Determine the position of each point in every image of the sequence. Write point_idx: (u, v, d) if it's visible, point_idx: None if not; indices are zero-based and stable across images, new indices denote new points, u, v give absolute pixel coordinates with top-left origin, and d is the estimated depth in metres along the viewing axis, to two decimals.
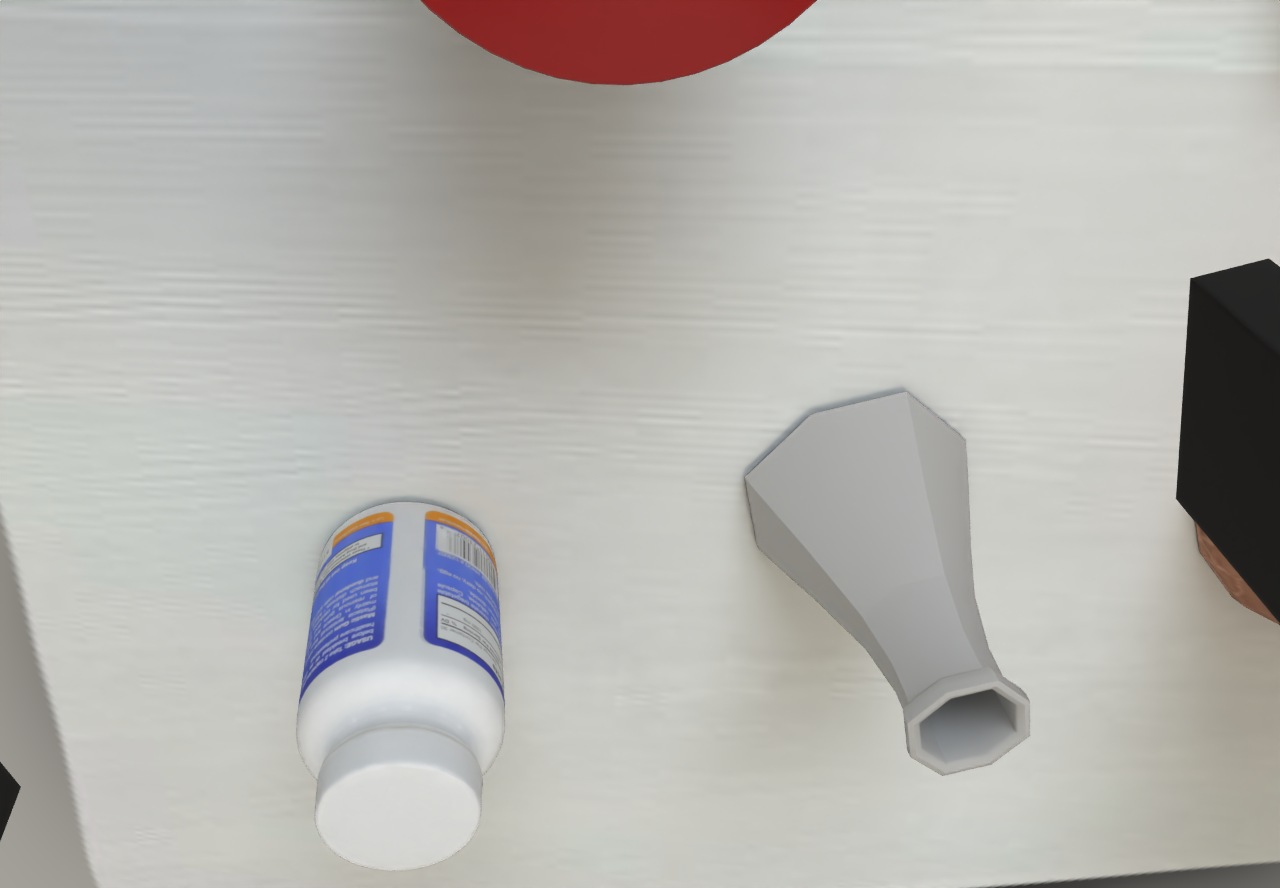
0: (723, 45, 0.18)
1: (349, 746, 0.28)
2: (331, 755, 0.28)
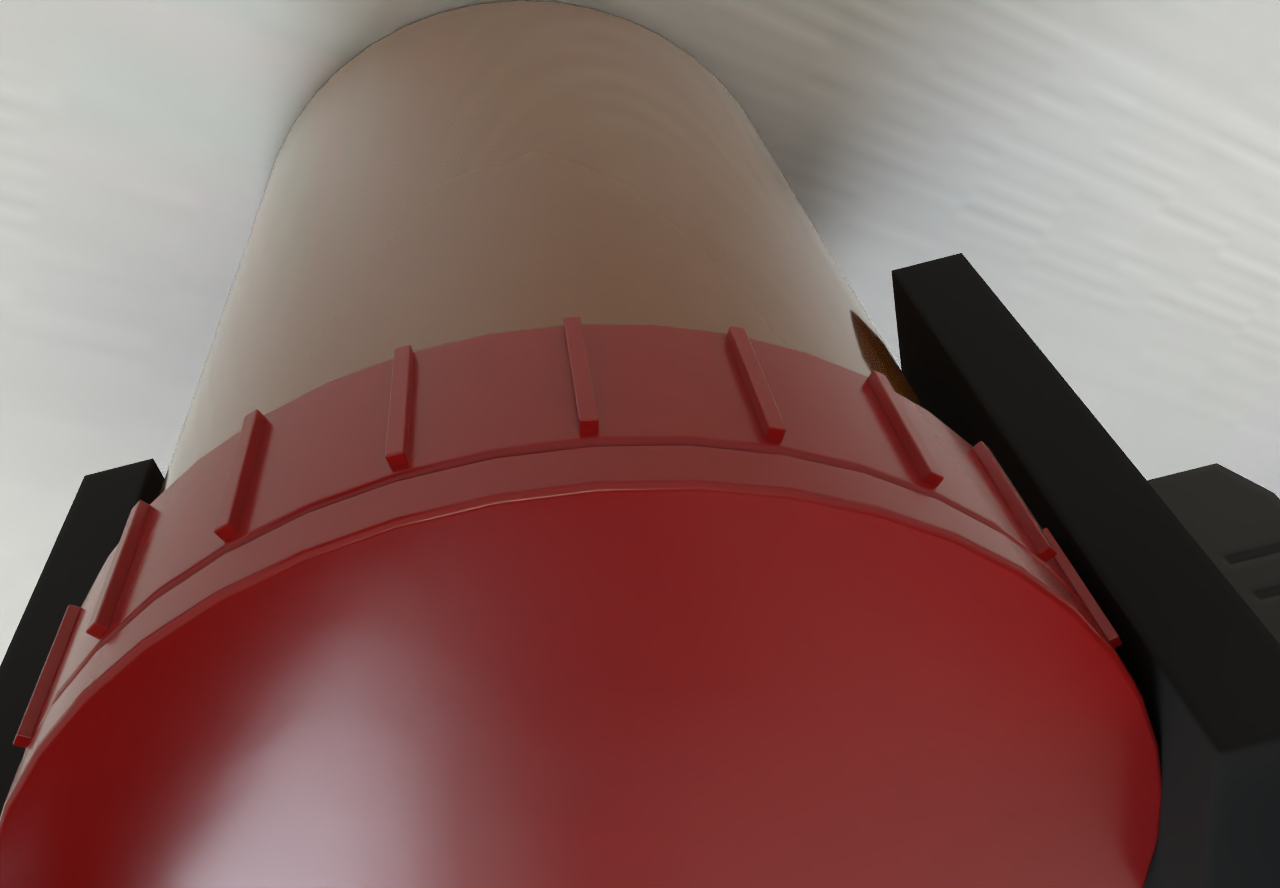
0: (595, 526, 0.06)
1: None
2: None
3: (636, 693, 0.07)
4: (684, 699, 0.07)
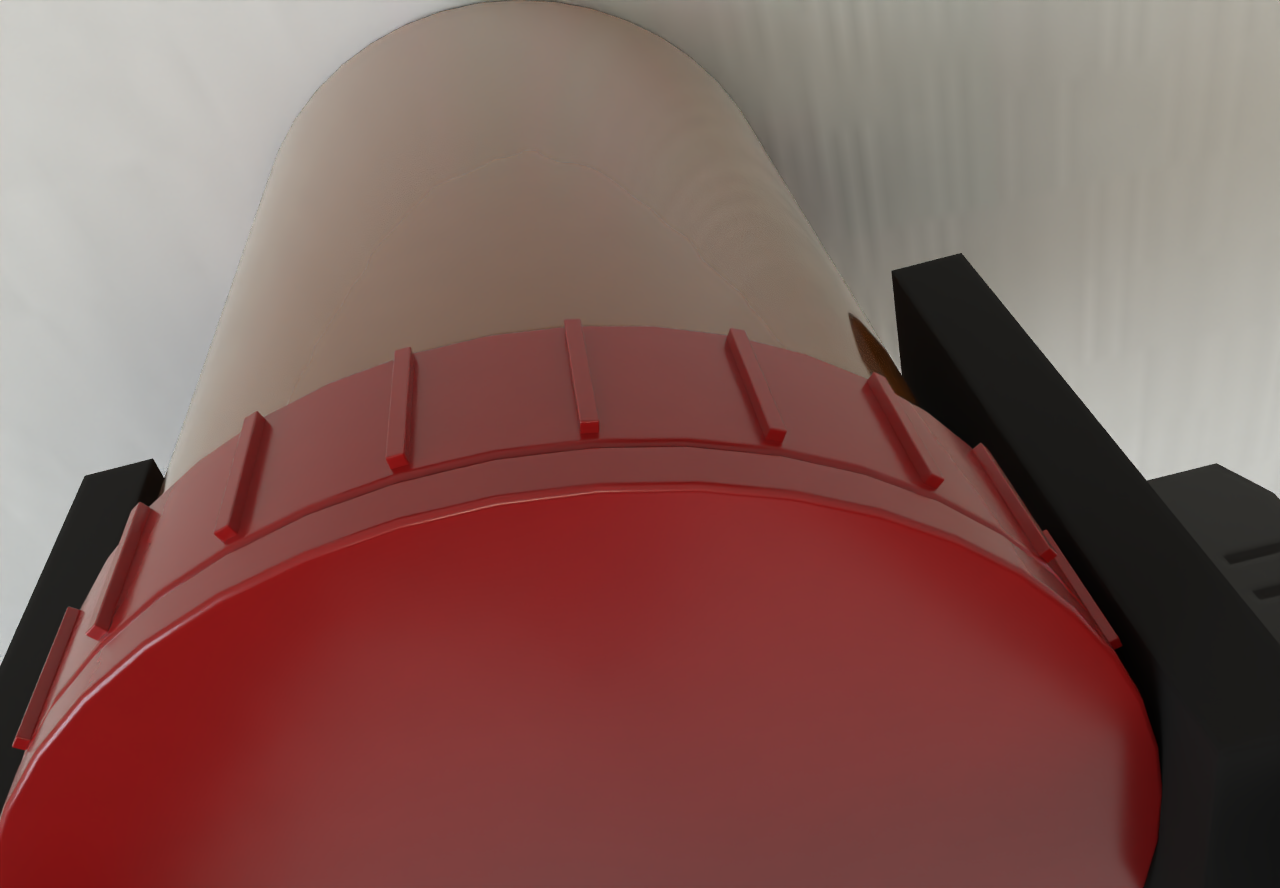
0: (596, 528, 0.06)
1: None
2: None
3: (636, 695, 0.07)
4: (684, 701, 0.07)
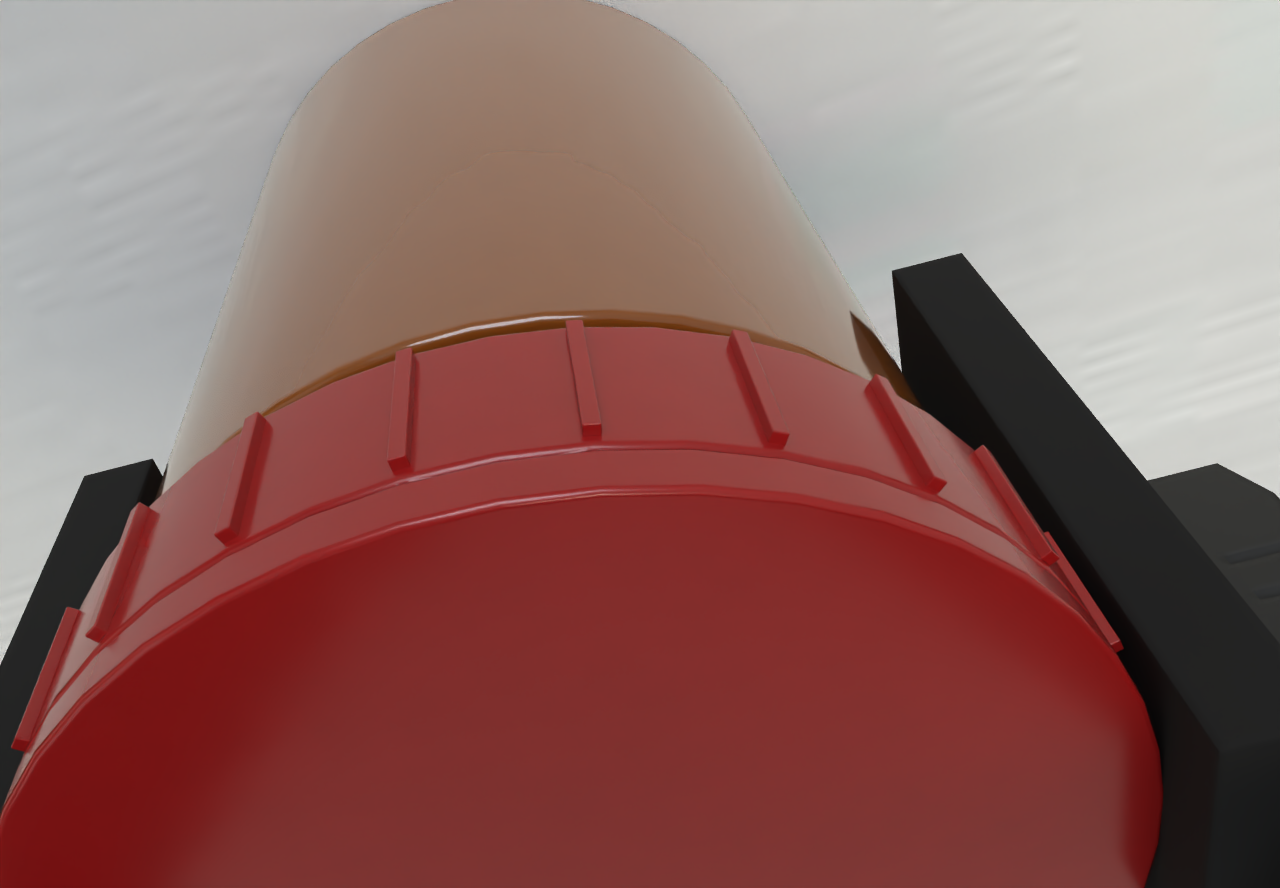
0: (599, 531, 0.06)
1: None
2: None
3: (638, 698, 0.07)
4: (686, 704, 0.07)
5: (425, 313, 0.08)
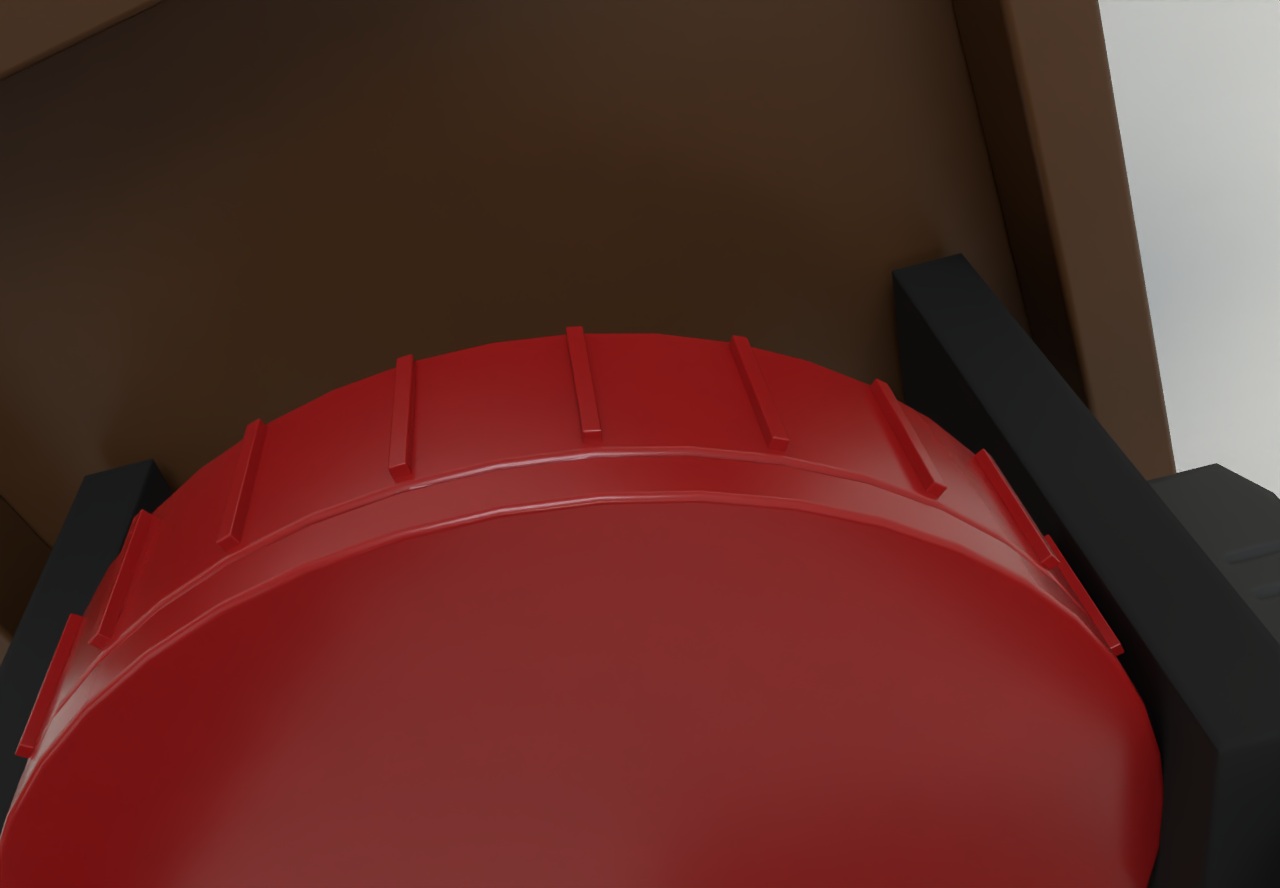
0: (599, 538, 0.06)
1: None
2: None
3: (640, 704, 0.07)
4: (687, 709, 0.07)
5: None
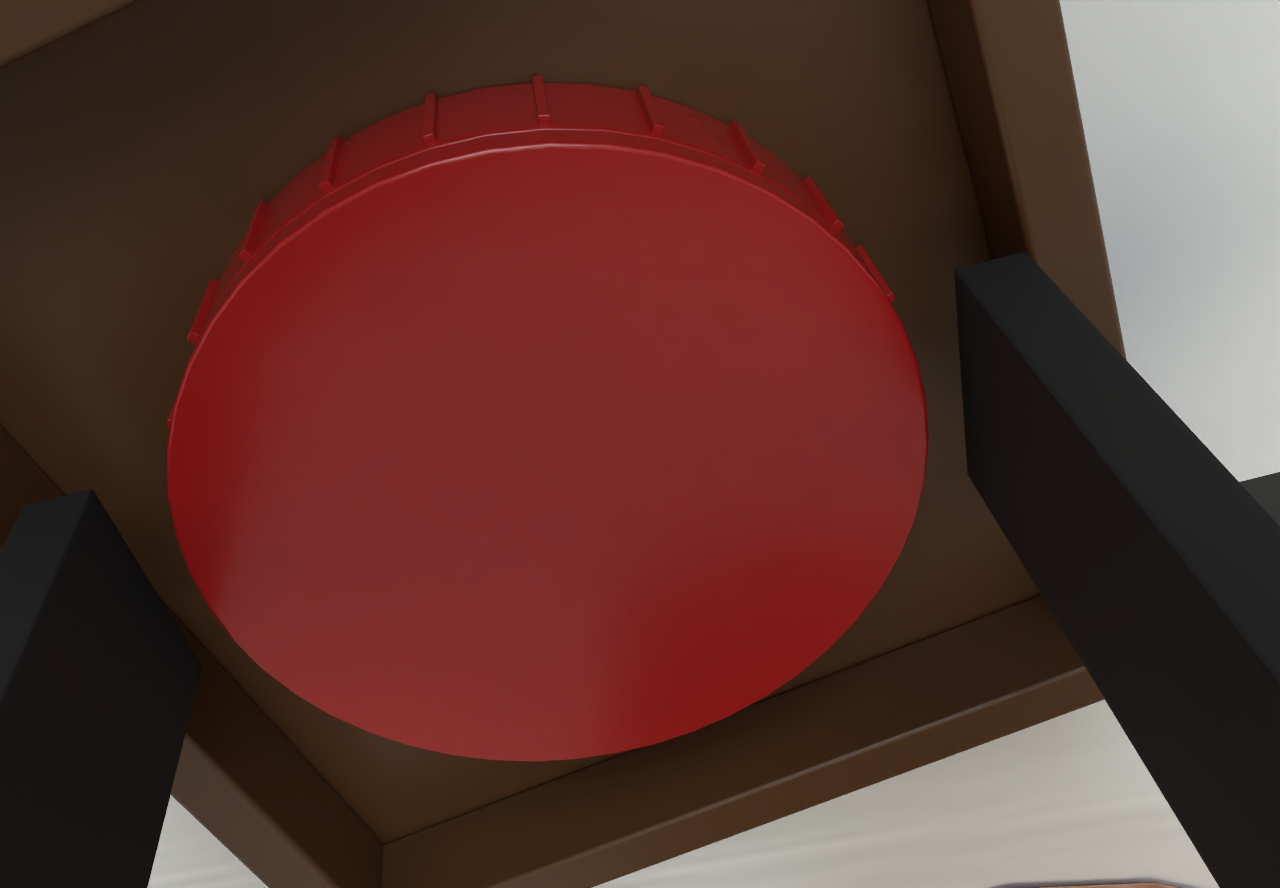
0: (547, 172, 0.11)
1: None
2: None
3: (575, 297, 0.11)
4: (605, 304, 0.11)
5: None
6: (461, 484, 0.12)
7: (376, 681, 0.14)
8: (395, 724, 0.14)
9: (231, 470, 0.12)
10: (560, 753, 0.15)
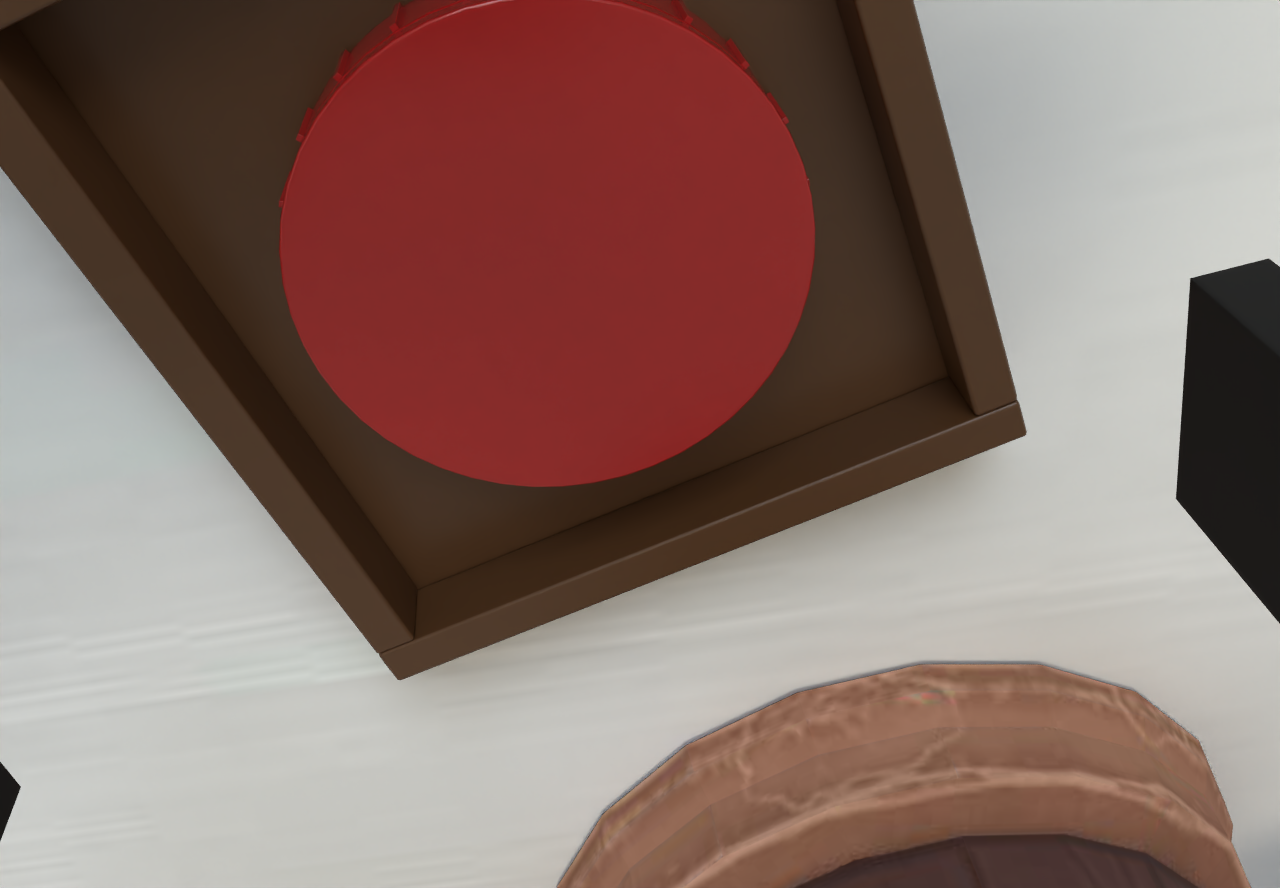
0: (543, 15, 0.16)
1: None
2: None
3: (562, 108, 0.17)
4: (583, 113, 0.17)
5: None
6: (483, 250, 0.18)
7: (419, 411, 0.19)
8: (432, 448, 0.19)
9: (324, 233, 0.17)
10: (553, 479, 0.20)
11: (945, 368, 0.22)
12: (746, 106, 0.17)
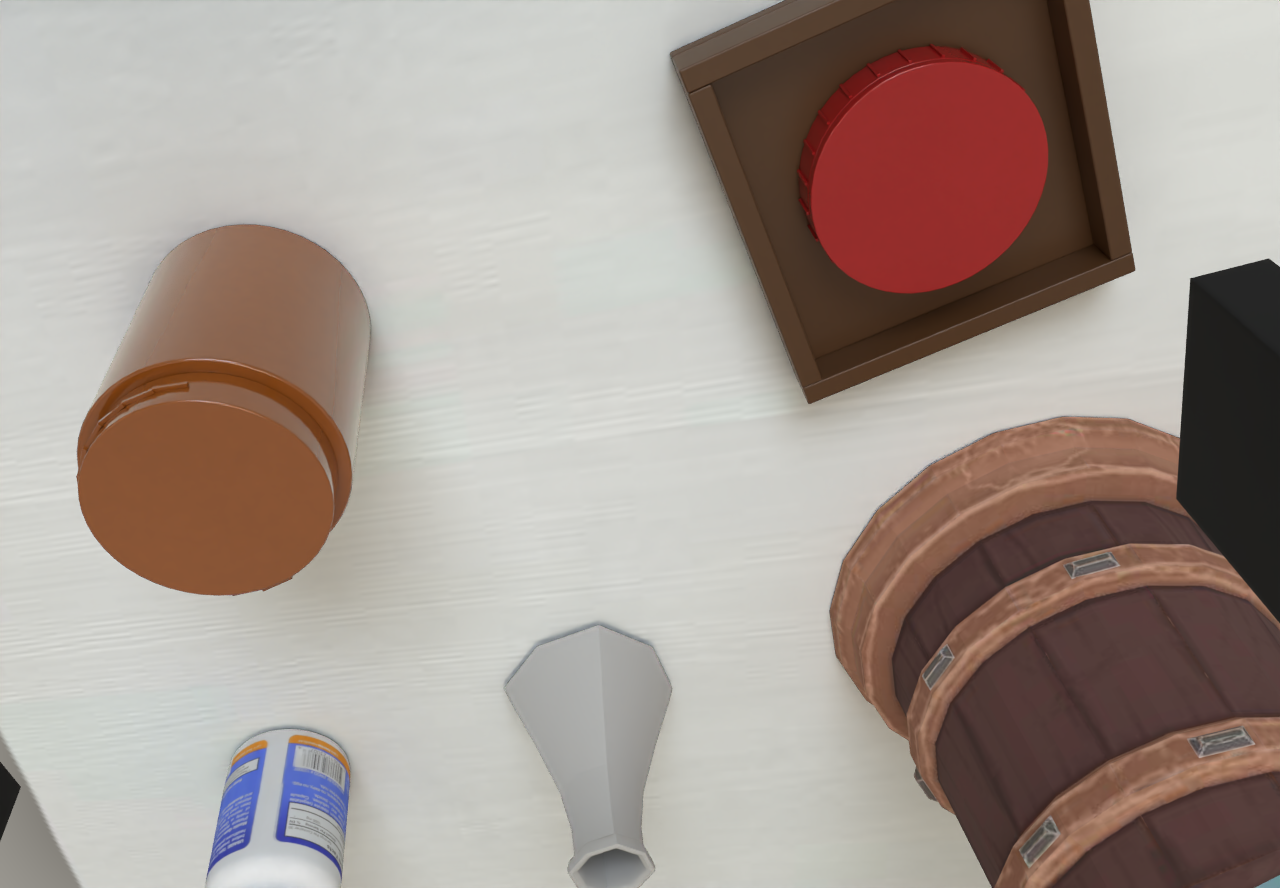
0: (946, 70, 0.37)
1: None
2: None
3: (947, 109, 0.38)
4: (955, 112, 0.38)
5: (179, 353, 0.32)
6: (901, 174, 0.39)
7: (856, 252, 0.40)
8: (858, 272, 0.41)
9: (835, 166, 0.38)
10: (909, 289, 0.41)
11: (1092, 239, 0.43)
12: (1025, 108, 0.38)
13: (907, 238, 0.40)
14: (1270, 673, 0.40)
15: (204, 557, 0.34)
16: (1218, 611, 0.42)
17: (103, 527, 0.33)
